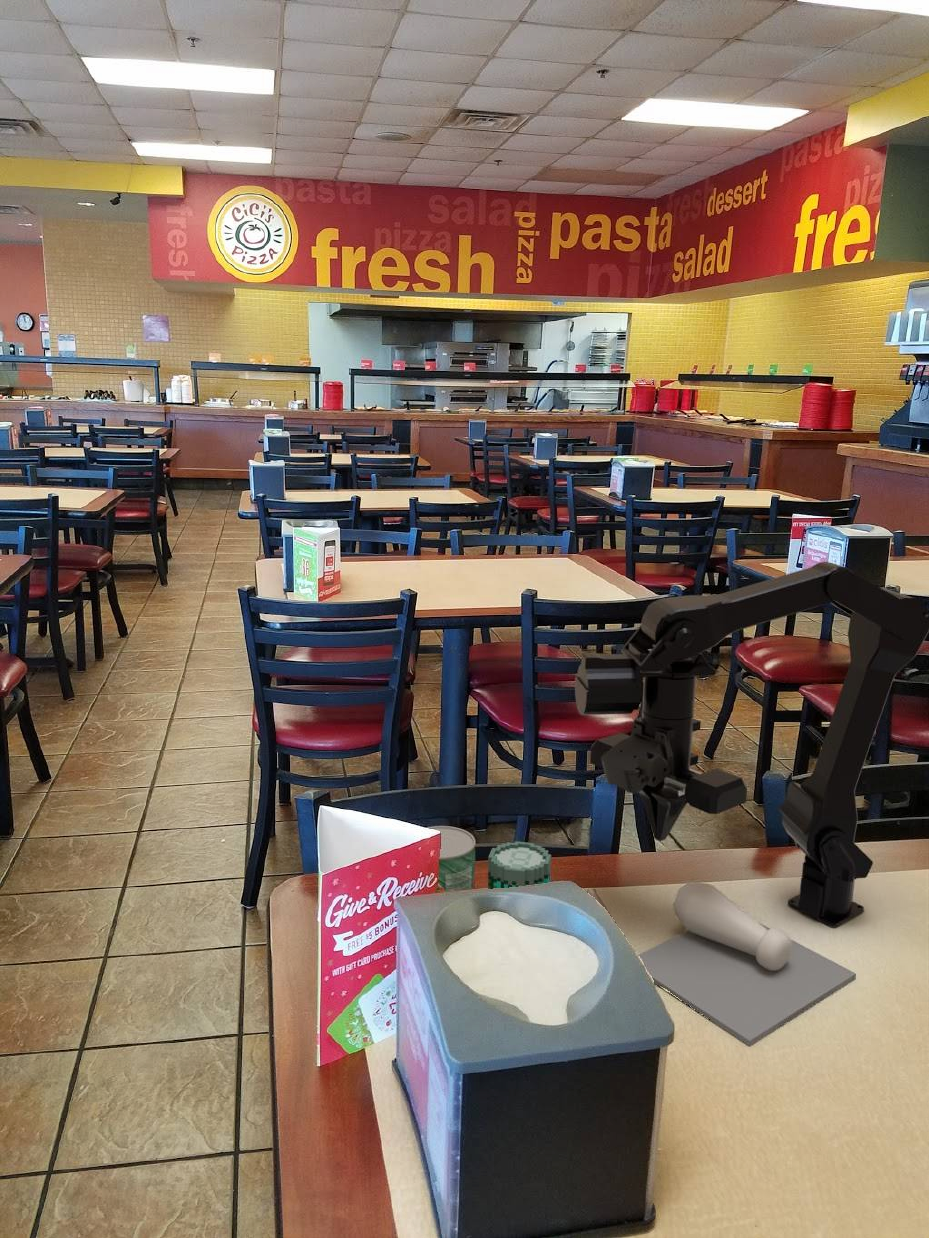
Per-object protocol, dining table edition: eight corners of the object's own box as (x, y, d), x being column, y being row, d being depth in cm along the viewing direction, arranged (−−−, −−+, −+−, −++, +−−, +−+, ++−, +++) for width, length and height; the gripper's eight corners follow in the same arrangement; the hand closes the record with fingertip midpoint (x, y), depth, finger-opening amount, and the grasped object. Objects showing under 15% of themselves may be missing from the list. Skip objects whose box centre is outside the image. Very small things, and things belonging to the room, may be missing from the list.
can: (483, 1000, 93) (484, 866, 90) (495, 966, 99) (496, 839, 95) (542, 1009, 91) (545, 873, 88) (550, 974, 97) (554, 845, 94)
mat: (732, 913, 109) (732, 908, 109) (855, 978, 97) (856, 973, 96) (626, 965, 99) (626, 960, 99) (749, 1046, 86) (749, 1040, 86)
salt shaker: (672, 931, 106) (772, 991, 96) (664, 900, 103) (766, 959, 93) (702, 896, 108) (802, 952, 99) (694, 865, 105) (797, 919, 96)
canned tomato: (486, 919, 108) (487, 833, 105) (457, 953, 101) (457, 863, 99) (427, 903, 111) (427, 820, 109) (395, 936, 104) (393, 848, 102)
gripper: (558, 703, 105) (554, 828, 108) (687, 751, 90) (677, 893, 94) (625, 687, 111) (619, 805, 115) (755, 729, 97) (744, 862, 100)
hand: (660, 839), depth 106 cm, fingers closed
